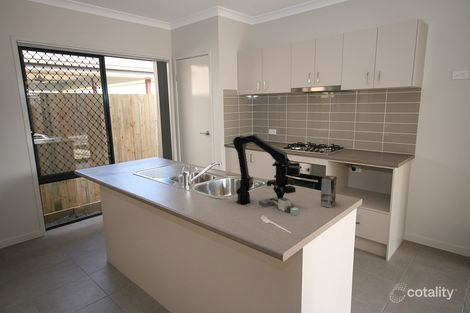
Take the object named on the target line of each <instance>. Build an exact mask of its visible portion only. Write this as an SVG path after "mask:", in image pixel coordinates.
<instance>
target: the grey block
mask: <svg viewBox="0 0 470 313" xmlns="http://www.w3.org/2000/svg"><path fill="white" fill-rule="evenodd" d="M290 206H292V200H291V199H290V198H287V197H284V198H281V199H278V206H277V208H278V209H279V210H280V211H283V212H285V211H286V210H285V207H290Z"/></svg>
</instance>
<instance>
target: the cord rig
mask: <svg viewBox="0 0 470 313" xmlns="http://www.w3.org/2000/svg"><path fill="white" fill-rule="evenodd" d="M283 198H285V197H284V196H283ZM258 205H259V206H262V207H263V208H266V207H272V206H277V207H278V197H277V196H274V197H268V198H265V199H261V200H258ZM285 211H286V213H287V214H290V215H292V216H297V215H300V213H299V212H300V208H298V207H296V206H294V205H291V206H290V207H285Z"/></svg>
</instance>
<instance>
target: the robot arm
mask: <svg viewBox="0 0 470 313" xmlns="http://www.w3.org/2000/svg"><path fill="white" fill-rule="evenodd" d="M232 143H233V146H234V149H235V151H236V152H237V157H238V164H239V171H240V181H239V188H237V189H236V191H235V192H236V194H237V200H236V203H237V204H240V205H242V206H243V205H248V204H251V202H252V201H251V199H250V197H251V195H250V190H251V189H253V187H254V177H253V176H251V175H250V174H249V173H250V172H249V167H248V160H247V159H248V158H247V152H246V149H247V144H250V143H253V144H255V145H256V146H257V147H259V148H261V149H262V150H263V151H265V152H266V153H267V154H269V155H270V156H271V158H272V159H273V160H274V163H273V164H271V166H272V167H275V175H273V178H275V179H270V180H267V182H266V186H268V187H271V186H273V188H272V190H273V191H274V193H275V194H276V197H278V199H281V198H283V197H284V196H285V194H292V193H296V189H297V188H295V186H294V184H295V182H296V180H295V179H292V178H289V176H300V175H301V164H300V162H292V161H291V160H290V158H289V157H288V153H287V152H286V151H285V150H282V149H279V148H276V147H274V146H273V145H271V144H270V143H268V142H267V141H265V140H264V139H263V138H261V137H260V136H258V135H257V134H255V133H254V134H251V135H246V136H244V135H239V136H235V137H234V138H233V140H232Z"/></svg>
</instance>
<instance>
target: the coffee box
mask: <svg viewBox="0 0 470 313" xmlns="http://www.w3.org/2000/svg"><path fill="white" fill-rule="evenodd" d="M337 179H338V178H337V176H335V175H324V176H323V178H321V192H320V193H321V194H320V206H321V207H324V208H326V207H327V208H333V207H334V205H335V204H336V196H337V195H336V192H337Z"/></svg>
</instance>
